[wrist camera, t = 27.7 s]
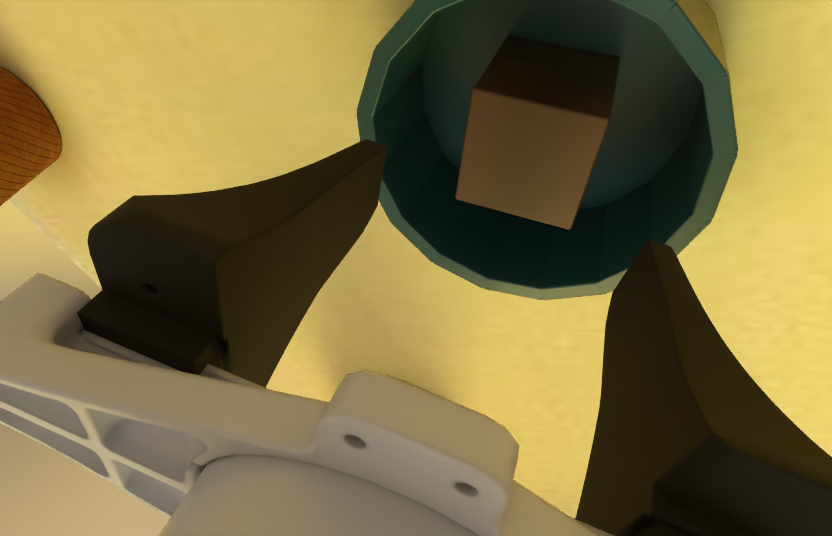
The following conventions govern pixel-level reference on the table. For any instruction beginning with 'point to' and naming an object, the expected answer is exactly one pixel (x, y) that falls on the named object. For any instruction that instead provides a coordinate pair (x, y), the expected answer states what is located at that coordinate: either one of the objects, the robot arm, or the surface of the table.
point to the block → (536, 129)
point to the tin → (617, 159)
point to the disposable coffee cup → (23, 136)
